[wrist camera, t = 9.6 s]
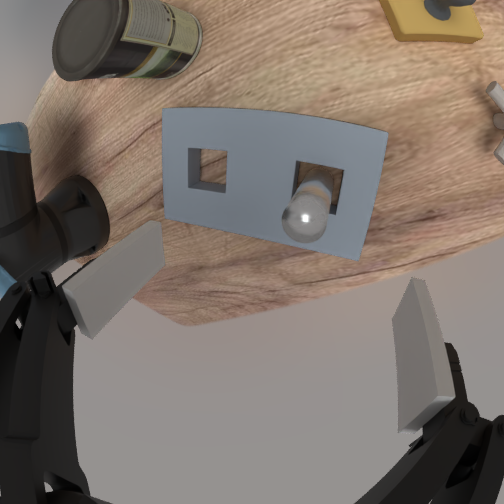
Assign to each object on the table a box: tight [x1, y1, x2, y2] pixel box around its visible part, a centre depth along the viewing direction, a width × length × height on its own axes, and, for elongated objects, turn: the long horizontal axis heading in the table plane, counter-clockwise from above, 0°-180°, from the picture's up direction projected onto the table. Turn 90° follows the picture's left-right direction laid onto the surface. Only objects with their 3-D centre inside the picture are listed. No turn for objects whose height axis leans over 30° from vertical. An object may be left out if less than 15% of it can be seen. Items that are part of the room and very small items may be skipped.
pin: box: [281, 167, 334, 243], centre depth 24 cm, size 3×3×12 cm
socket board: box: [162, 107, 388, 261], centre depth 29 cm, size 24×14×3 cm, turn 86°
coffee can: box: [52, 0, 202, 81], centre depth 19 cm, size 10×10×14 cm
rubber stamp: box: [379, 0, 484, 43], centre depth 10 cm, size 10×6×12 cm, turn 107°
